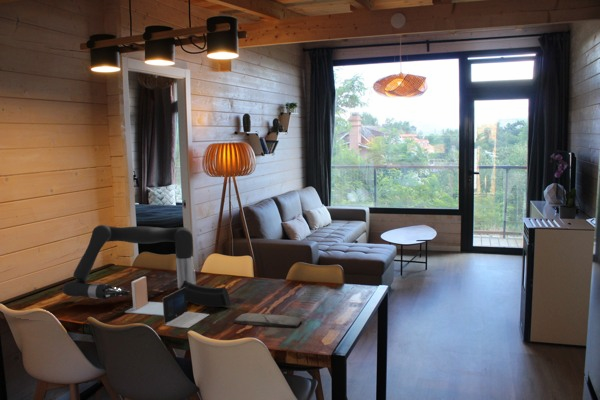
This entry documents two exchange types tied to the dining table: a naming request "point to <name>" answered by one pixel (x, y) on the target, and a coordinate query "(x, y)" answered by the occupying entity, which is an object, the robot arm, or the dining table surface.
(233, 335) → the dining table surface
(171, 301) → the laptop
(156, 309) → the mat
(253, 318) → the stone slab
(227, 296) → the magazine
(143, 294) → the tile
